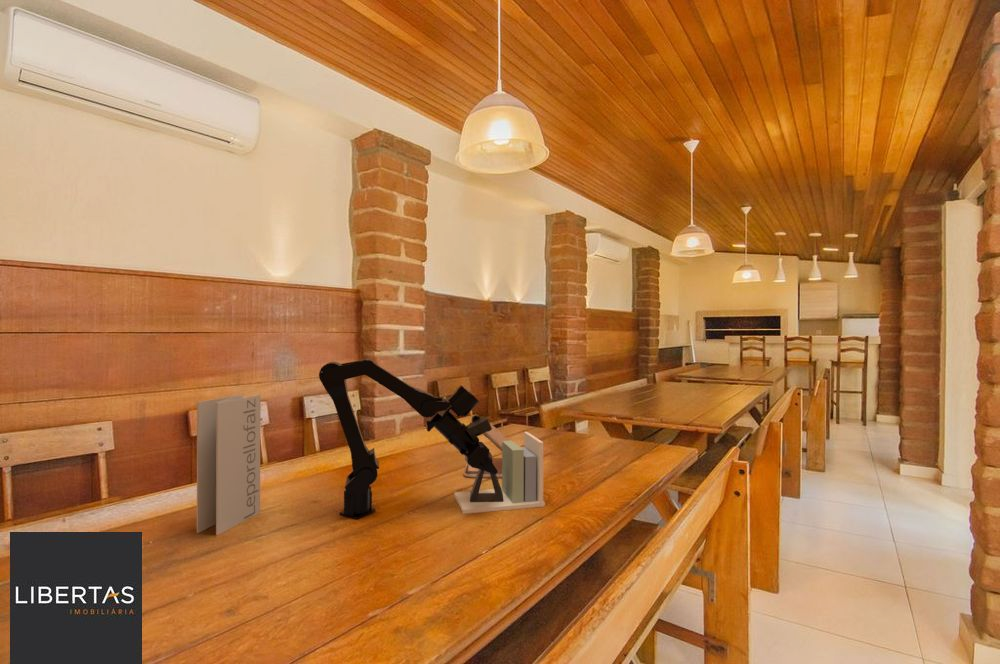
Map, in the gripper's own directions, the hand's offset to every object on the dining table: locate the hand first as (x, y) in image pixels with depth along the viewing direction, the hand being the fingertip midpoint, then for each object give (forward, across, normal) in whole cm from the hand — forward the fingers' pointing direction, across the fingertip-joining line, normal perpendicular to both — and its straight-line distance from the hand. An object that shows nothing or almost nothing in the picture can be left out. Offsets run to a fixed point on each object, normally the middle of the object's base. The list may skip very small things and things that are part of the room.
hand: (492, 468), depth 132 cm
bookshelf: (+8, 0, +5) cm, 9 cm away
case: (+13, +30, +1) cm, 32 cm away
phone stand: (+5, 0, +7) cm, 8 cm away
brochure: (-39, +1, +53) cm, 66 cm away
